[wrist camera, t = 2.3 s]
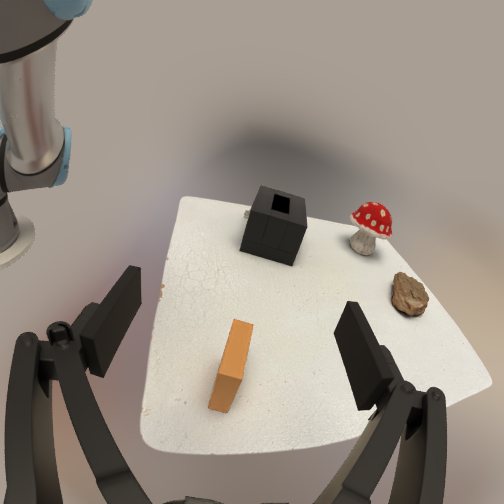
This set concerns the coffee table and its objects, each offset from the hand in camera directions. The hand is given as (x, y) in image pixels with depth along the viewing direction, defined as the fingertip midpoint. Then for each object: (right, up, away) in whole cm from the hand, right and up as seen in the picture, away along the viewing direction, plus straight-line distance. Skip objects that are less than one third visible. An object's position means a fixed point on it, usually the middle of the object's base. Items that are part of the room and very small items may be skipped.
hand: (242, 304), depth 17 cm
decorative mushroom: (+32, +4, +62) cm, 70 cm away
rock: (+38, -10, +43) cm, 58 cm away
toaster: (+5, +6, +52) cm, 53 cm away
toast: (-3, -14, +16) cm, 21 cm away
